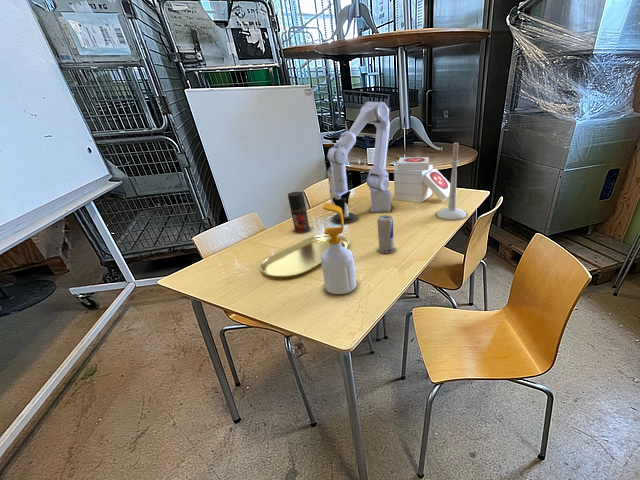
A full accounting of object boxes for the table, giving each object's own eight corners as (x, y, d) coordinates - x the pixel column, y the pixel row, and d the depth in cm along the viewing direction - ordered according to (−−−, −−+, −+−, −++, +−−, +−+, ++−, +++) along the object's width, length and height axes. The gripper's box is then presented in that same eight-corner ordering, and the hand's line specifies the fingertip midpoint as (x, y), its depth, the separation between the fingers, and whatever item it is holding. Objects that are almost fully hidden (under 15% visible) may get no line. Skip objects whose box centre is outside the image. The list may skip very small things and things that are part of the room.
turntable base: (358, 215, 152) (358, 212, 152) (354, 223, 143) (354, 221, 143) (335, 215, 153) (334, 212, 153) (329, 223, 144) (329, 221, 143)
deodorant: (311, 227, 141) (305, 191, 132) (307, 233, 136) (300, 195, 127) (298, 227, 141) (290, 191, 133) (292, 232, 136) (285, 195, 128)
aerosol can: (332, 203, 168) (326, 161, 157) (346, 203, 168) (341, 160, 158) (331, 207, 162) (325, 164, 152) (345, 207, 163) (340, 163, 152)
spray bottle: (356, 213, 151) (354, 196, 147) (352, 220, 144) (350, 203, 139) (336, 213, 152) (334, 196, 148) (331, 220, 144) (329, 203, 140)
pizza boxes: (445, 206, 160) (447, 166, 151) (389, 199, 171) (387, 162, 161) (456, 195, 175) (459, 158, 165) (404, 190, 186) (404, 155, 176)
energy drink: (396, 248, 121) (395, 215, 115) (391, 254, 117) (389, 221, 111) (382, 246, 123) (380, 214, 116) (376, 252, 119) (374, 219, 112)
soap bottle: (327, 280, 103) (314, 200, 89) (356, 278, 103) (348, 198, 90) (324, 295, 95) (309, 211, 82) (356, 293, 96) (346, 209, 82)
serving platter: (360, 244, 125) (359, 240, 124) (289, 285, 100) (288, 281, 99) (322, 235, 133) (322, 231, 133) (248, 271, 109) (247, 267, 108)
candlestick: (463, 210, 155) (469, 139, 138) (467, 219, 144) (474, 144, 128) (436, 210, 155) (438, 139, 139) (438, 220, 145) (441, 144, 128)
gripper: (334, 175, 145) (338, 206, 153) (325, 183, 133) (330, 216, 140) (350, 174, 145) (353, 206, 152) (343, 183, 133) (347, 216, 140)
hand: (343, 211), depth 146 cm, fingers open, 7 cm apart
